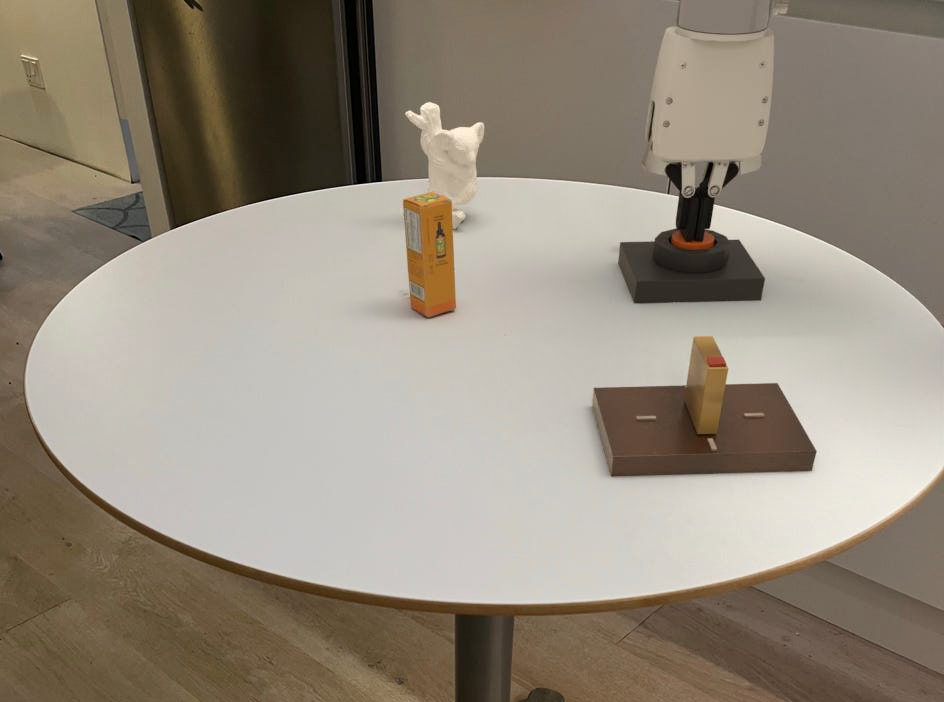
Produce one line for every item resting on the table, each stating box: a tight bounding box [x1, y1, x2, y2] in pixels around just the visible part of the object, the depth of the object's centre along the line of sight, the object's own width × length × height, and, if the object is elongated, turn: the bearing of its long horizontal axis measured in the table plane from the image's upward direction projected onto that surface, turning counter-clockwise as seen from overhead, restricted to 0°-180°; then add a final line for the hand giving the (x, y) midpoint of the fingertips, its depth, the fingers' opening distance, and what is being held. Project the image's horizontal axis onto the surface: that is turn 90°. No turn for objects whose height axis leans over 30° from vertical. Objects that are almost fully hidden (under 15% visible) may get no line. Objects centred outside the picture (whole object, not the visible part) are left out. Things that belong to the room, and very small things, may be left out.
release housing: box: [617, 227, 766, 305], centre depth 97 cm, size 12×10×4 cm
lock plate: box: [591, 382, 818, 478], centre depth 74 cm, size 14×10×3 cm
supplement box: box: [402, 192, 457, 318], centre depth 91 cm, size 3×3×10 cm
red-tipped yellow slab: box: [684, 335, 729, 434], centre depth 71 cm, size 5×1×5 cm, turn 1°
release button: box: [671, 231, 714, 250], centre depth 96 cm, size 4×4×2 cm
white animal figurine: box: [404, 101, 485, 230], centre depth 108 cm, size 8×7×12 cm
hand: (691, 236), depth 96 cm, fingers closed
